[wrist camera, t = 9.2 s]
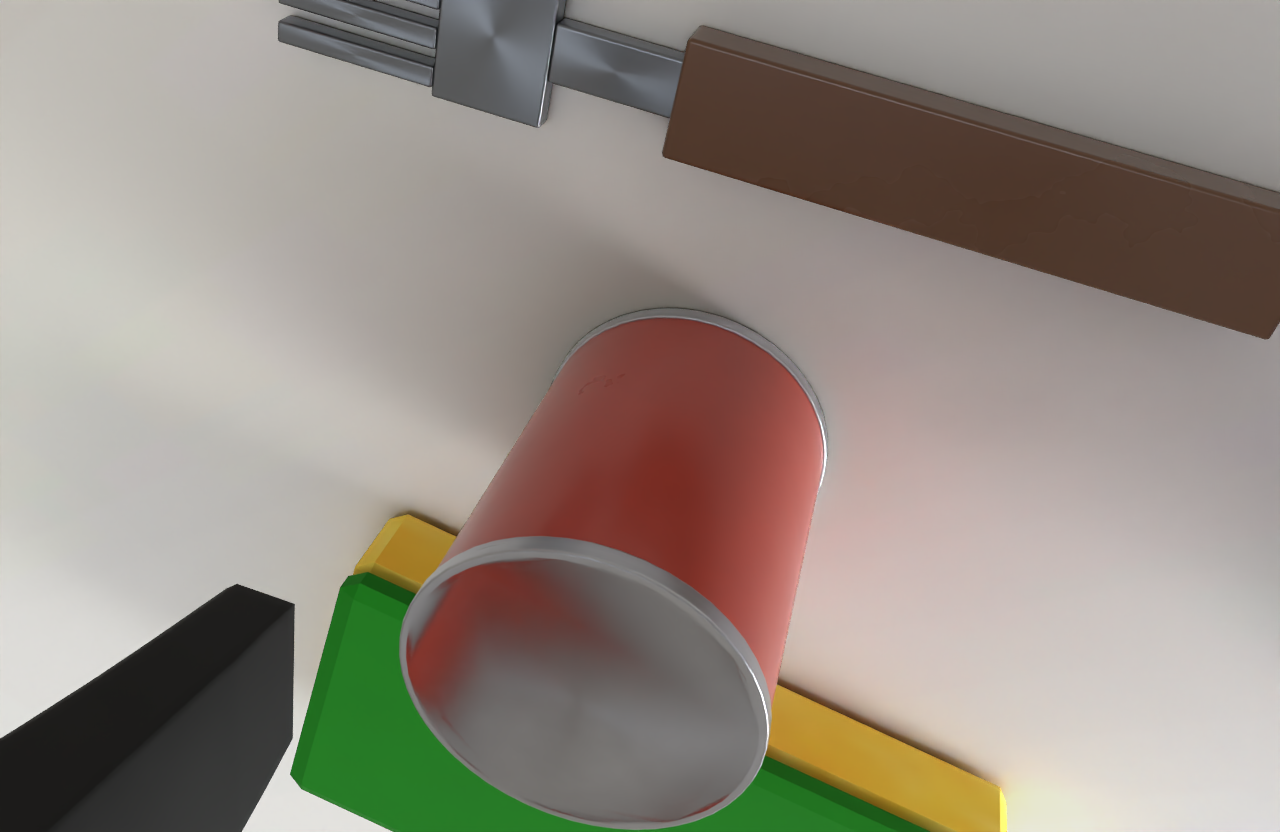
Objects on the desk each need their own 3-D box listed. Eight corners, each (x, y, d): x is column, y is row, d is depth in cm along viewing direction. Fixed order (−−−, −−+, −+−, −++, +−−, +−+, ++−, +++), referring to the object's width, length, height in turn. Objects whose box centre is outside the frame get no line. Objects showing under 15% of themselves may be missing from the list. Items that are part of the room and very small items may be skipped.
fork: (1338, 184, 15) (1354, 207, 14) (1247, 333, 16) (1258, 360, 16) (292, -117, 16) (264, -108, 16) (289, 43, 18) (263, 57, 17)
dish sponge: (858, 948, 27) (847, 1048, 25) (336, 706, 27) (284, 786, 25) (1015, 788, 23) (1017, 892, 21) (396, 502, 23) (340, 579, 21)
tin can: (867, 361, 18) (818, 634, 13) (782, 580, 21) (714, 875, 16) (575, 269, 19) (413, 496, 14) (531, 496, 22) (385, 755, 16)
